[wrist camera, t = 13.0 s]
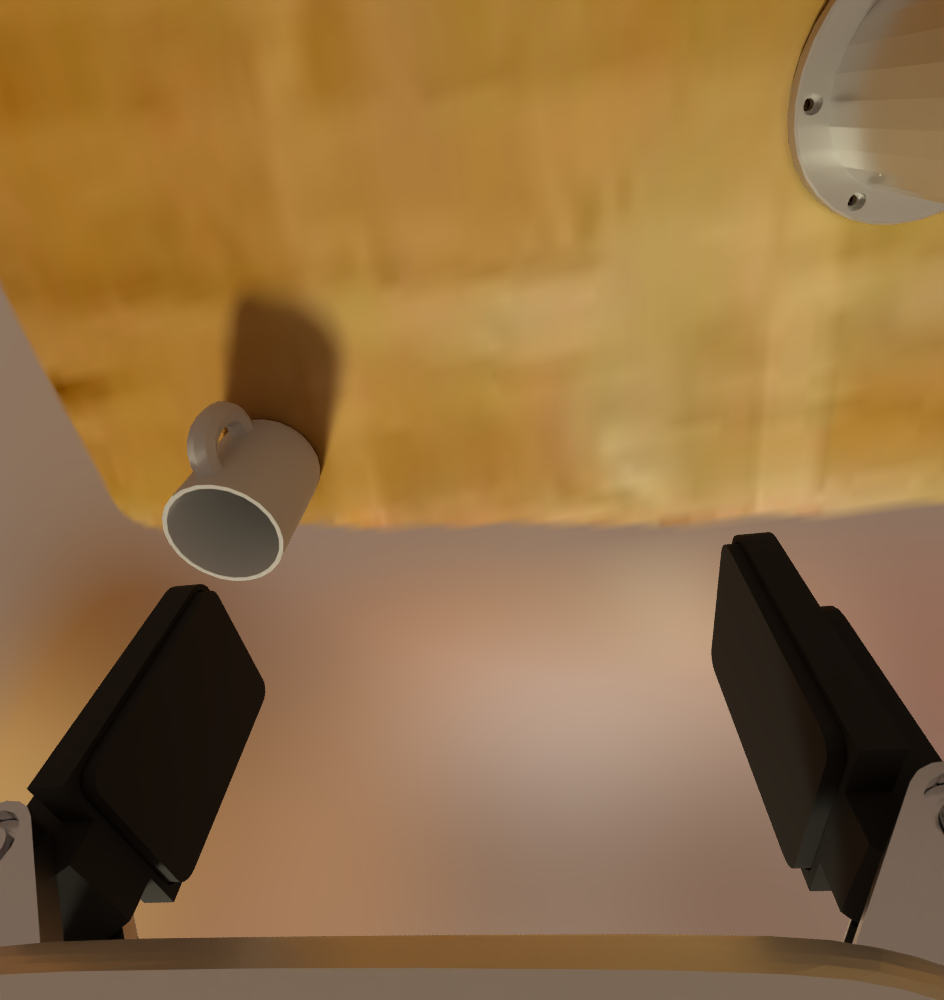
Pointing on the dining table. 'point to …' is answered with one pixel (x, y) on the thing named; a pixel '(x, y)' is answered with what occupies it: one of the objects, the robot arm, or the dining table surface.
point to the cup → (240, 493)
